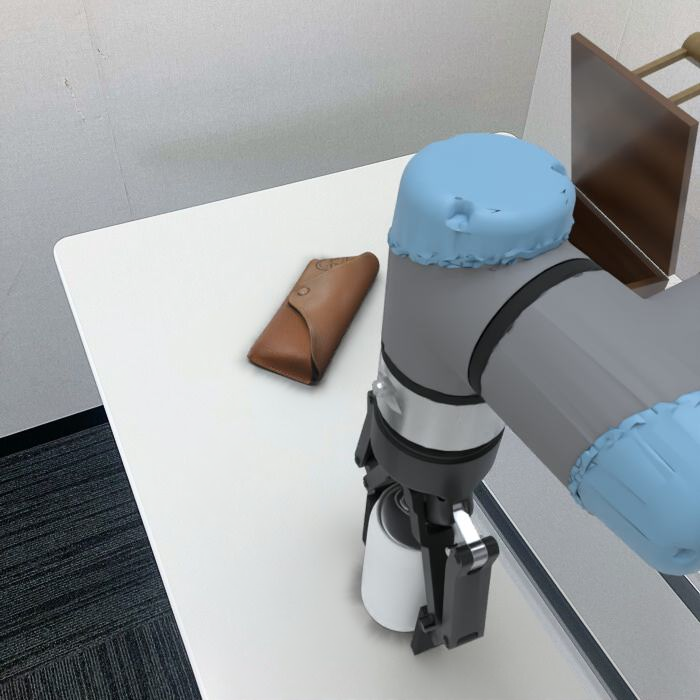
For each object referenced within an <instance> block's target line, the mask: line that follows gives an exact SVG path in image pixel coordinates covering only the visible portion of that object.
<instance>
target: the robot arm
mask: <svg viewBox="0 0 700 700" xmlns="http://www.w3.org/2000/svg"><path fill="white" fill-rule="evenodd" d="M575 201H576V193H575V187H574V184H573V183H572V181H571V178H570V177H569V176H568V174H567V171H566V166H565V165H564V164H563V162H561V161H560V160H559V159H558V158H557V157H556V156H554V155H553V153H550V152H549V151H547V150H546V149H544V148H543V147H540V146H538V145H537V144H534V143H532V142H529V141H527V140H524V139H521V138H518V137H514V136H510V135H505V134H500V133H491V132H468V133H461V134H455V135H452V136H450V137H449V138H447V139H444V140H437V141H432V142H431V143H430V144H428V145H426V146H424V147H423V148H422V149H420V150H418V151H417V152H416V153H415V154H414V155H413V156H412V157H411V158H410V159H409V161H408V162H407V164H406V165H405V167H404V169H403V171H402V174H401V176H400V181H399V185H398V190H397V196H396V201H395V205H394V210H393V217H392V222H391V226H390V227H389V229H388V232H387V236H386V237H387V239H386V240H387V241H386V243H387V244H388V255H387V264H386V265H387V268H386V277H385V278H386V279H385V288H384V289H385V290H384V299H383V301H384V302H383V309H382V310H383V311H382V321H381V322H382V323H381V331H380V332H381V333H380V351H379V359H378V368H377V376H376V379H375V380H373V381H372V383H371V389H370V390H368V391H367V393H366V415H365V418H364V421H363V425H362V428H361V431H360V434H359V438H358V441H357V444H356V448H355V451H354V459H353V460H354V463H355V465H356V466H357V468H358V469H362V468H364V470H365V475H363V477H362V484H363V488H365V490H366V492H367V493H366V498H365V499H366V500H365V509H364V518H363V527H362V535H361V540H362V542H363V544H364V547H365V548H366V540H367V532H368V524H369V518H370V514H371V511H372V509H373V507H374V505H375V503H376V502H377V501H378V500H379V498H380V496H381V495H382V493H383V492H384V491H385V490H386V489H387V488H388V487H389V486H390V485H392V484H394V483H395V482H399V483H400V484H401V486H402V488H403V489H404V498H405V502H406V503H407V505H408V506H409V509H410V518H411V528H412V534H413V536H414V537H415V538H416V539H417V541H418V542H419V543H420V544H421V552H422V561H423V571H424V581H425V590H426V600H427V605H424V606H421V607H420V610H419V614H418V618H417V622H416V626H415V630H414V631H413V633H412V638H411V641H410V648H411V650H412V652H413V655H414V656H417V655H419V654H422V653H425V652H427V651H430V650H432V649H435V648H437V647H439V646H443V645H444V647H445V648H446V649H447V650H448V651H451V650H453V649H455V648H458V647H461V646H463V645H466V644H469V643H471V642H473V641H476V640H478V639H481V638H483V637H484V635H485V627H486V618H487V611H488V601H489V593H490V585H491V576H492V568H493V565H494V564H495V562H496V560H497V559H498V558H499V556H500V552H501V550H500V546H499V543H498V541H497V539H496V538H495V536H493V535H487V536H484V535H482V534H479V533H478V531H477V528H476V526H475V524H474V523H473V521H472V519H471V517H472V516H473V514H474V511H475V510H474V509H475V503H474V491H475V489H477V487H478V486H479V484H480V483H481V482H482V481H483V480H484V479H485V477H486V476H487V475H488V474H489V473H490V471H491V469H492V468H493V466H494V464H495V461H496V460H497V459H496V458H497V455H498V452H499V449H500V445H501V442H502V440H503V436H504V433H505V429H506V426H507V427H508V428H509V429H510V430H511V431H512V432H513V433H514V434H515V435H516V437H518V439H519V440H520V441H521V442H522V443H523V444H524V445H525V446H526V447H527V448H528V449H529V450H530V452H531V453H533V455H534V456H535V457H536V458H537V459H538V460H539V461H540V462H541V463H542V465H544V467H546V468H547V469H548V471H549V472H551V474H552V475H553V476H554V477H555V478H556V479H557V480H558V481H559V482H560V483H561V484H562V485H563V486H564V487H565V488H566V489H567V490H568V492H569V493H570V496H571V497H572V499H573V500H574V502H575V503H576V504H577V505H578V506H580V507H581V509H582V510H585V511H586V513H588V514H589V515H591V516H594V517H595V518H597V519H598V520H599V521H600V522H601V523H602V524H603V525H604V526H606V528H608V529H609V530H610V532H612V533H613V534H614V535H615V536H616V537H618V538H619V539H620V540H621V541H622V542H623V543H624V544H625V545H626V546H627V547H628V548H629V549H630V550H631V551H633V552H634V553H635V555H637V556H638V557H639V558H640V559H641V560H642V561H643V562H644V563H645V564H646V565H648V566H649V567H650V568H651V569H653V570H655V571H657V572H659V573H661V574H665V575H668V576H676V577H677V576H678V577H680V576H687V575H692V574H696V573H698V572H700V271H699V272H697V273H696V274H694V275H692V276H690V277H688V278H686V279H684V280H682V281H680V282H677V283H675V284H674V285H672V286H670V287H668V288H665V290H663V291H661V292H659V293H657V294H655V295H653V296H651V297H649V298H647V299H643V298H641V297H640V296H638V295H637V294H636V293H634V292H633V291H632V290H631V289H629V288H628V287H627V286H625V285H624V284H623V283H621V282H620V281H619V280H617V279H616V278H615V277H613V276H612V275H611V274H610V273H608V272H607V271H605V270H604V269H603V268H601V267H600V266H599V265H597V264H596V263H595V262H594V261H592V260H591V259H590V258H589V257H588V256H586V255H585V254H584V253H582V252H581V251H580V250H578V249H577V248H576V247H574V246H573V245H572V244H570V243H569V241H568V240H567V239H568V238H569V237H568V235H569V233H570V231H571V228H572V225H573V224H574V223H575V222H574V219H573V216H572V214H573V210H574V205H575ZM426 522H427V523H428V524H426Z"/></svg>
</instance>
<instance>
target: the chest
mask: <svg viewBox="0 0 700 700" xmlns="http://www.w3.org/2000/svg"><path fill="white" fill-rule="evenodd" d="M574 187H575V186H574ZM575 193H576V201H575V205H574V210H573V214H572V216H573V219H574V222H575V223H574V224H573V225H572V228H571V231H570V233H569V235H568V237H569V238H568V239H567V240H568V241H569V243H570V244H572V245H573V246H574V247H576V248H577V249H578V250H580V251H581V252H582V253H584V254H585V255H586V256H588V257H589V258H590V259H591V260H592V261H594V262H595V263H596V264H597V265H599V266H600V267H601V268H603V269H604V270H605V271H607V272H608V273H610V274H611V275H612V276H613V277H615V278H616V279H617V280H619V281H620V282H621V283H623V284H624V285H625V286H627V287H628V288H629V289H631V290H632V291H633V292H634V293H636V294H637V295H638V296H640V297H641V298H643V299H647V298H649V297H651V296H653V295H655V294H657V293H659V292H661V291H663V290H666V289H667V286H668V284H669V281H670V278H669V277H667V276H666V275H665V274H664V273H663V272H662V271H661V270H660V269H659V268H658V267H657V266H656V265H655V264H654V263H653V262H652V261H651V260H650V259H649V258H648V257H647V256H646V255H645V254H644V253H643V252H642V251H641V250H640V249H639V248H638V247H637V246H636V245H635V244H634V243H633V242H632V241H631V240H630V239H629V238H628V237H627V236H626V235H625V234H624V233H622V232H621V231H620V230H619V229H618V228H617V227H616V226H615V225H614V224H613V223H612V222H611V221H610V220H609V219H608V218H607V217H606V216H605V215H604V214H603V213H602V212H601V211H600V210H599V209H598V208H597V207H596V206H595V205H594V204H593V203H592V202H591V201H590V200H589V199H588V198H587V197H586V196H585V195H584V194H583V193H582V192H581V191H580V190H579V189H578V188H577V187H575Z"/></svg>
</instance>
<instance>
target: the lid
mask: <svg viewBox="0 0 700 700" xmlns="http://www.w3.org/2000/svg"><path fill="white" fill-rule="evenodd" d="M684 59H685V60H686V61H687V62H689V63H691V64H692V65H693V66H695V67H696V68H698V69H700V31H695V32H693V33H691V34H689V35H688V36H687V37H686V39H684V41H683V43H682V45H681V47H680V48H678V49H676V50H674V51H671V52H670V53H667V54H665V55H663V56H661V57H659V58H657V59H655V60H653V61H650V62H648V63H646V64H644V65H642V66H640V67H638V68H635V69H633V70H630V69H629V68H627V67H626V66H625V65H623V64H622V63H621V62H619V61H618V60H617V59H615V58H614V57H613V56H611V55H610V54H609V53H607V52H606V51H604V50H603V49H602V48H600V47H599V46H598V45H596V44H595V42H593V41H591V40H590V39H588V37H586V36H585V35H583V34H582V33H580V32H579V31H578V32H575V33H572V34H571V35H570V153H571V154H570V174H571V175H570V177H571V178H570V180H571V181H572V183H573V184H574V186H575V187H576V188H577V189H578V190H579V191H580V192H581V193H582V194H583V195H584V196H585V197H586V198H587V199H588V200H589V201H590V202H591V203H592V204H593V205H594V206H595V207H596V208H597V209H598V210H599V211H600V212H601V213H602V214H603V215H604V216H605V217H606V218H607V219H608V220H609V221H611V222H612V223H613V224H614V225H615V226H616V227H617V228H618V229H619V230H620V231H621V232H622V233H623V234H624V235H625V236H626V237H627V238H628V239H629V240H630V241H631V242H632V243H633V244H634V245H635V246H636V247H637V248H638V249H639V250H640V251H641V252H642V253H643V254H644V255H645V256H646V257H647V258H648V259H649V260H650V261H651V262H652V263H653V264H654V265H655V266H656V267H657V268H658V269H659V270H661V271H662V272H663V273H664V275H666V276H667V277H668V278H669V277H671V276H674V275H675V274H676V270H677V264H678V259H679V251H680V245H681V239H682V234H683V233H682V232H683V227H684V220H685V215H686V208H687V207H686V206H687V202H688V195H689V188H690V184H691V183H690V181H691V177H692V176H691V175H692V170H693V165H694V164H693V163H694V158H695V150H696V143H697V136H698V131H699V126H700V121H698V120H697V119H696V118H695V117H693V116H692V115H691V114H689V113H688V112H686V111H685V110H684V109H683V108H681V107H679V106H680V105H682V104H684V103H686V102H688V101H690V100H692V99H695V98H696V97H698V96H700V82H699V83H696V84H694V85H692V86H690V87H687V88H686V89H683V90H682V91H679V92H677V93H675V94H673V95H671V96H669V97H667V96H665V95H664V94H663V93H661V92H660V91H658V90H657V89H656V88H654V87H653V86H652V85H650V84H648V82H646V81H645V80H644V78H645V77H648V76H650V75H652V74H654V73H656V72H658V71H661V70H663V69H665V68H667V67H669V66H671V65H673V64H675V63H677V62H680V61H682V60H684Z"/></svg>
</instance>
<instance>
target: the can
mask: <svg viewBox="0 0 700 700" xmlns="http://www.w3.org/2000/svg"><path fill="white" fill-rule="evenodd" d="M426 524H428V523H427V522H426ZM360 587H361V588H360V589H361V590H360V591H361V593H360V594H361V599H362V602H363V605H364V608H365V609H366V611H367V613H368V614H369V616H370V617H371V618H372V619H373V620H374V621H375V622H376V623H378V624H379V625H381V626H382V627H384V628H386V629H388V630H392V631H395V632H401V633H402V632H403V633H407V632H414V630H415V626H416V622H417V618H418V614H419V610H420V607H421V606H424V605H427V600H426V590H425V581H424V571H423V561H422V552H421V544H420V543H419V542H418V541H417V539H416V538H415V537H414V536H413V534H412V528H411V518H410V509H409V506H408V505H407V503H406V502H405V498H404V489H403V488H402V486H401V484H400V483H399V482H395V483H394V484H392V485H390V486H389V487H388V488H387V489H386V490H385V491H384V492H383V493H382V495H381V496H380V498H379V500H378V501H377V502H376V503H375V505H374V507H373V509H372V511H371V514H370V518H369V524H368V532H367V540H366V547H365V549H364V557H363V567H362V575H361V586H360Z"/></svg>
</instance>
